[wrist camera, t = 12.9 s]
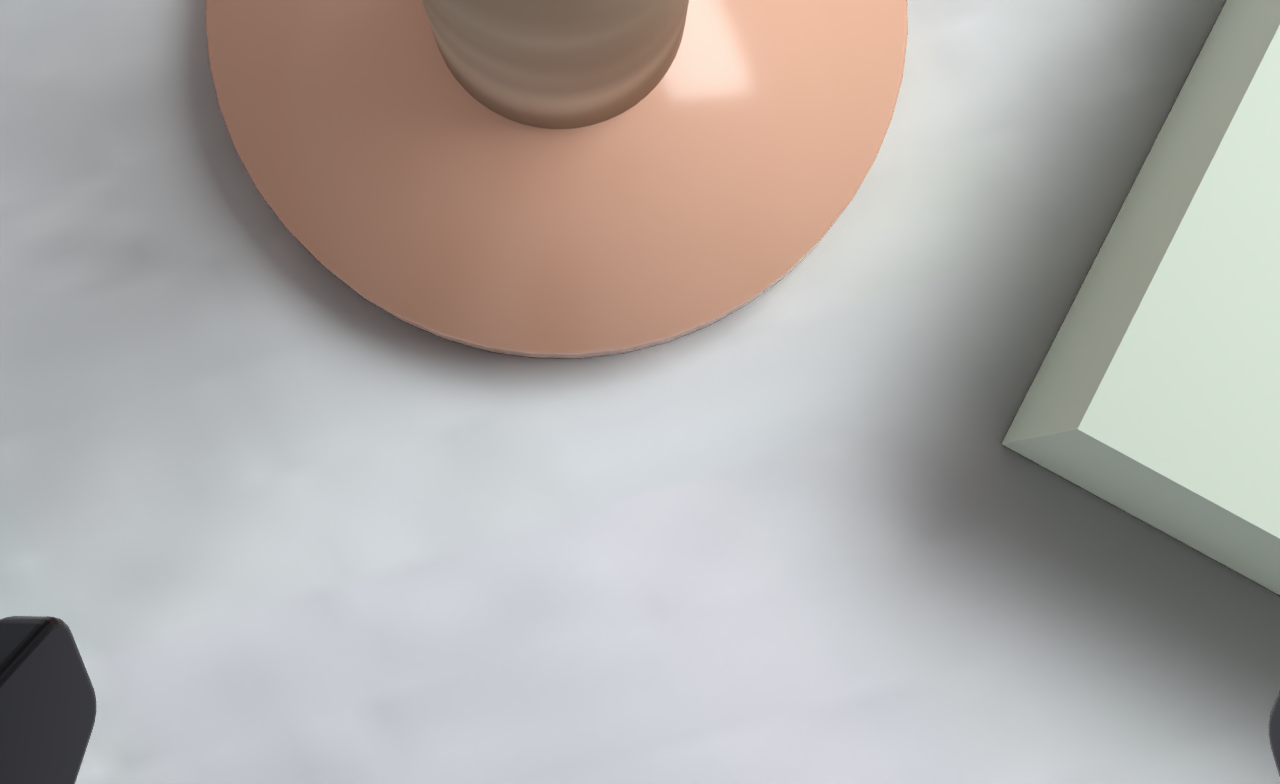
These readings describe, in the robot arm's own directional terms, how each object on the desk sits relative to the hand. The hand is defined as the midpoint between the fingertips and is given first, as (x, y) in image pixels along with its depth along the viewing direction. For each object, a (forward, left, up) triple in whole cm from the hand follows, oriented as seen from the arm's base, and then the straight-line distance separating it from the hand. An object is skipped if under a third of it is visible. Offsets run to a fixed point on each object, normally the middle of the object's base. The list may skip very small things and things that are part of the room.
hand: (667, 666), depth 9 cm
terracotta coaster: (+2, +9, -10) cm, 13 cm away
